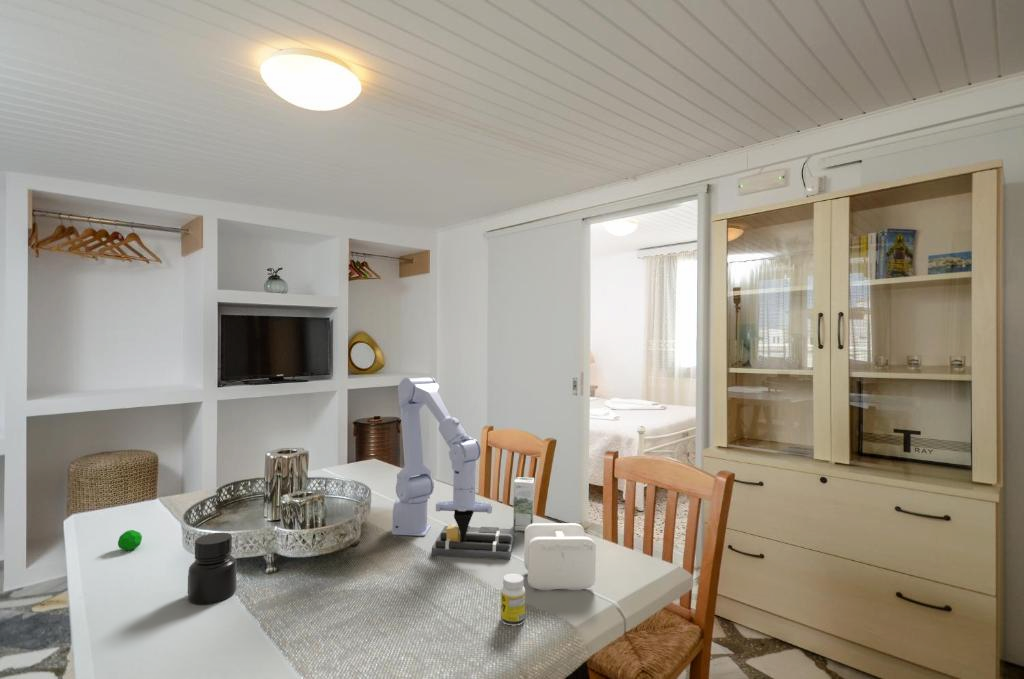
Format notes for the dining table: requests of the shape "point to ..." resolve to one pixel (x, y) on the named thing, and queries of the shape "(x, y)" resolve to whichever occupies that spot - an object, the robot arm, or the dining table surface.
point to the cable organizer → (559, 556)
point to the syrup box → (523, 503)
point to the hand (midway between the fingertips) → (463, 539)
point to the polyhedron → (129, 540)
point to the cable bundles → (477, 537)
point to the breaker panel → (475, 552)
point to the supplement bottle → (513, 599)
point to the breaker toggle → (453, 533)
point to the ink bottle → (212, 569)
